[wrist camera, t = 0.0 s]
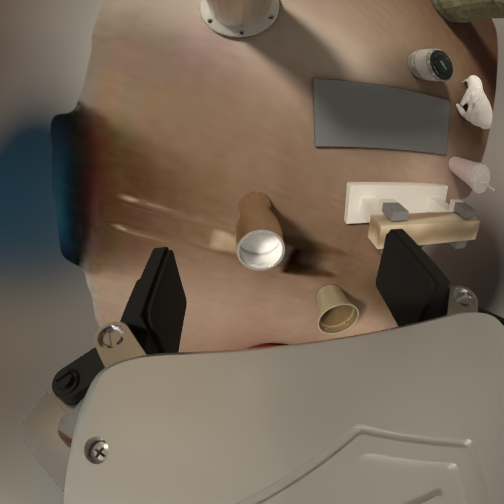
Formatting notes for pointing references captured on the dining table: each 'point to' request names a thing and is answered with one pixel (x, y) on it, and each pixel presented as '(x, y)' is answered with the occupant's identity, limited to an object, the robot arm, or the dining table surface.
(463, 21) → the thermos
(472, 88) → the white animal figurine
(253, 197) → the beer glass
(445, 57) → the camera lens
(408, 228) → the rail
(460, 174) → the smoothie
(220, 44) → the dining table surface
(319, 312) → the flower pot
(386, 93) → the mat
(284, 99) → the dining table surface
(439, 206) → the hook stand
